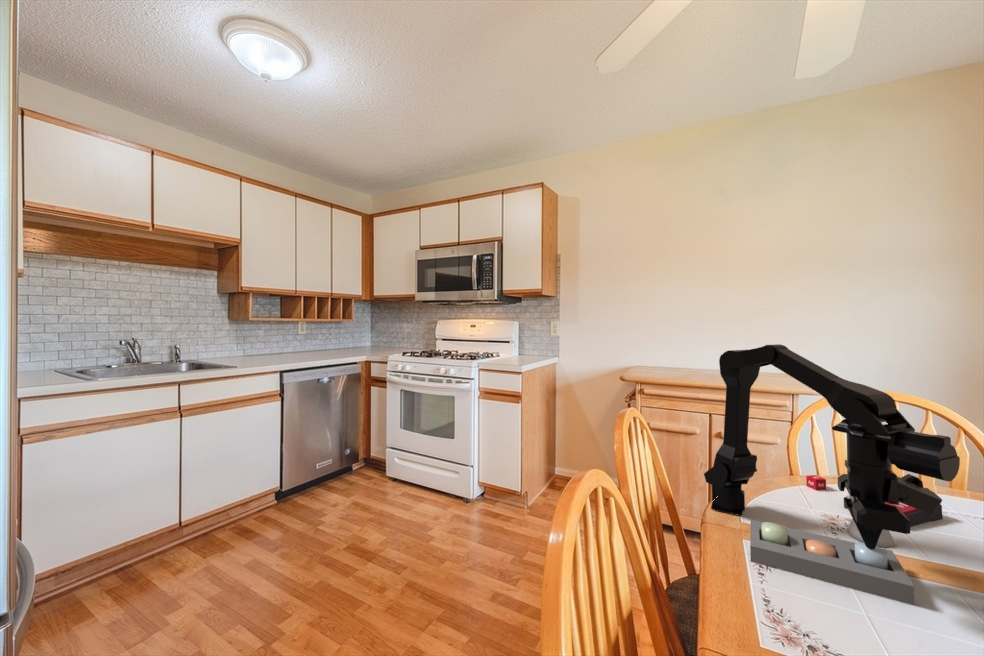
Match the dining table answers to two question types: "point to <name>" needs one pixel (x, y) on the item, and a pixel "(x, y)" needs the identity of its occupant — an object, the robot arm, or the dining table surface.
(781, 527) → the button sage
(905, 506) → the black product box
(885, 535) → the flask
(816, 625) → the dining table surface
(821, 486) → the red letter cube
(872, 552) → the button blue
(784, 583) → the dining table surface
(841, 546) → the button panel
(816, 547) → the button terracotta
